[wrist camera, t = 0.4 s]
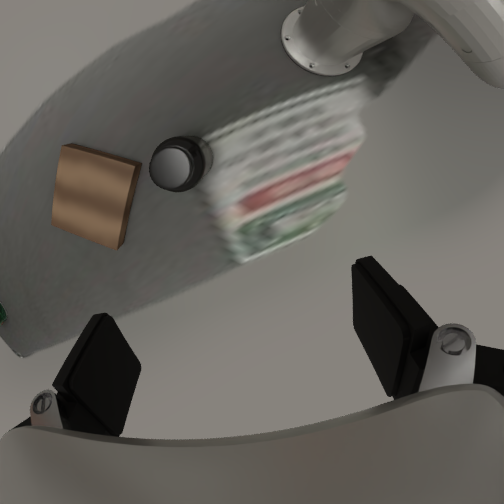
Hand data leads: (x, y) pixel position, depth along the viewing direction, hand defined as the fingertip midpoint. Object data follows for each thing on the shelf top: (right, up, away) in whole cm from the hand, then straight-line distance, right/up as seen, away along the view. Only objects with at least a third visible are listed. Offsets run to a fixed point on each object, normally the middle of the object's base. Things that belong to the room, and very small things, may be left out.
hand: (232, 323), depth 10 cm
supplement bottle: (-8, +16, +28) cm, 34 cm away
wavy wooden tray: (-25, +12, +29) cm, 40 cm away
